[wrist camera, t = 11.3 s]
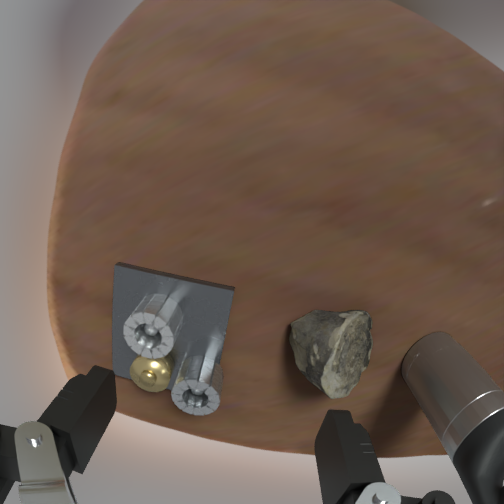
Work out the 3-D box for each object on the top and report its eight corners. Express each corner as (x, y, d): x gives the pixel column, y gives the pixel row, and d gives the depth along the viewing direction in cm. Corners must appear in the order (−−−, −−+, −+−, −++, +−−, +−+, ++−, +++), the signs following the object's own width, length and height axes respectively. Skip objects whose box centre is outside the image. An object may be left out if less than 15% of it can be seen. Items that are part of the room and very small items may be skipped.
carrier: (234, 287, 36) (231, 305, 32) (213, 393, 41) (209, 417, 36) (118, 261, 36) (100, 275, 31) (115, 369, 40) (103, 390, 35)
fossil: (387, 351, 38) (375, 413, 30) (326, 361, 43) (304, 417, 36) (360, 285, 35) (344, 347, 28) (293, 302, 41) (263, 357, 33)
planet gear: (185, 299, 36) (175, 319, 31) (180, 340, 37) (171, 363, 32) (139, 289, 35) (124, 307, 31) (137, 329, 37) (123, 351, 32)
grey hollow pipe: (220, 355, 38) (216, 380, 33) (225, 389, 39) (222, 415, 34) (176, 355, 38) (167, 379, 33) (183, 389, 39) (176, 414, 34)
